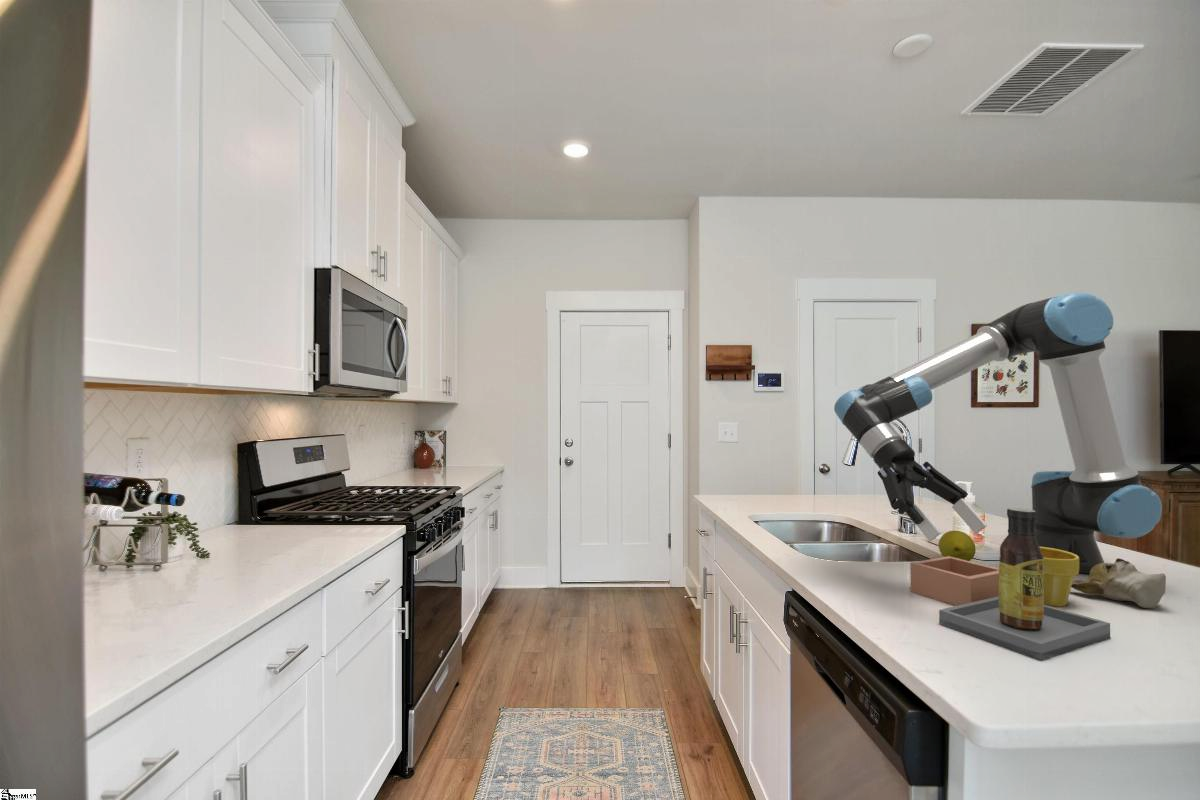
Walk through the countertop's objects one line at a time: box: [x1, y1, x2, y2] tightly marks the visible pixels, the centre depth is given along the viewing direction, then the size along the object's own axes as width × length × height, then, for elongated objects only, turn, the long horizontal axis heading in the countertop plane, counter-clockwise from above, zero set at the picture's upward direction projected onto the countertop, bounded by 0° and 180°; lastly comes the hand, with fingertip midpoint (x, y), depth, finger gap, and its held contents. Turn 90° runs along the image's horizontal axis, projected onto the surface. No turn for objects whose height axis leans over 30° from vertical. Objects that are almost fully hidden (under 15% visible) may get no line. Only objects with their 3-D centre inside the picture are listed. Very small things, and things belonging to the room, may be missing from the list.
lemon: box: [937, 530, 976, 562], centre depth 139 cm, size 11×8×8 cm
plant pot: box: [1040, 547, 1080, 607], centre depth 112 cm, size 10×10×10 cm
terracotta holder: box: [910, 556, 999, 606], centre depth 115 cm, size 12×12×6 cm
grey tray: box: [938, 596, 1111, 661], centre depth 97 cm, size 20×16×2 cm
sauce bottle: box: [998, 507, 1044, 630], centre depth 97 cm, size 7×6×20 cm
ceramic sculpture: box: [1071, 558, 1167, 609], centre depth 113 cm, size 11×9×15 cm
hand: (959, 533), depth 107 cm, fingers open, 13 cm apart
